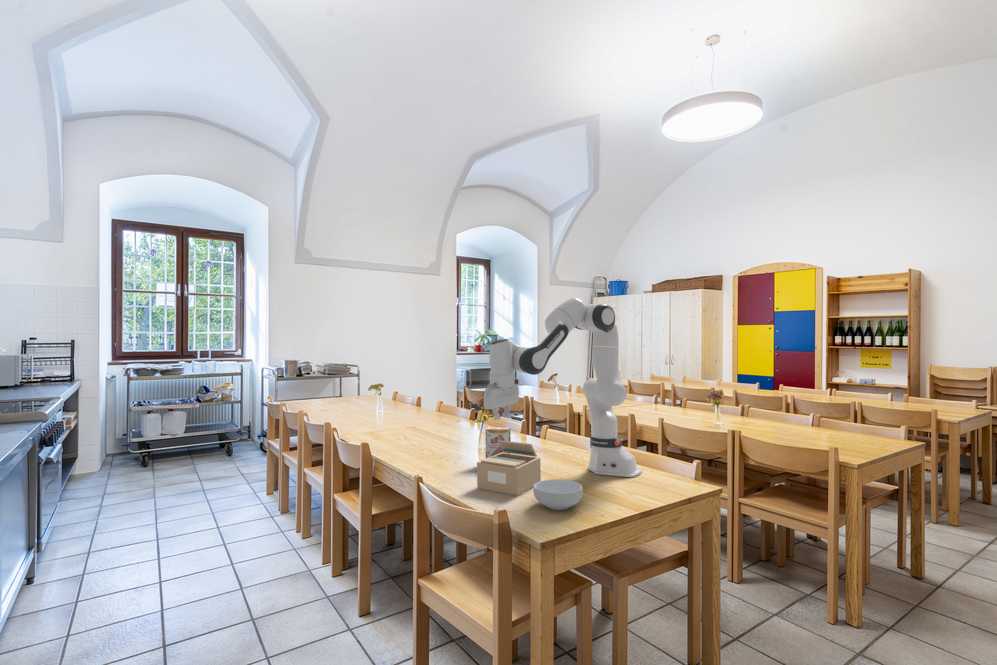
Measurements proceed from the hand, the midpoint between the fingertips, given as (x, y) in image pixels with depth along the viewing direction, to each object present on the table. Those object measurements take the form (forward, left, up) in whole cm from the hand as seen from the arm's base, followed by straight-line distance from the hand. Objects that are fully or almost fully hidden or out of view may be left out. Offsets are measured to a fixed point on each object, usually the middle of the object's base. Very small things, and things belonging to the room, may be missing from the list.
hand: (501, 418), depth 191 cm
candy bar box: (+20, -29, -27) cm, 45 cm away
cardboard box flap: (0, -11, -14) cm, 18 cm away
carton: (0, -5, -27) cm, 28 cm away
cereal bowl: (-26, +6, -27) cm, 38 cm away
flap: (0, -1, -17) cm, 17 cm away
